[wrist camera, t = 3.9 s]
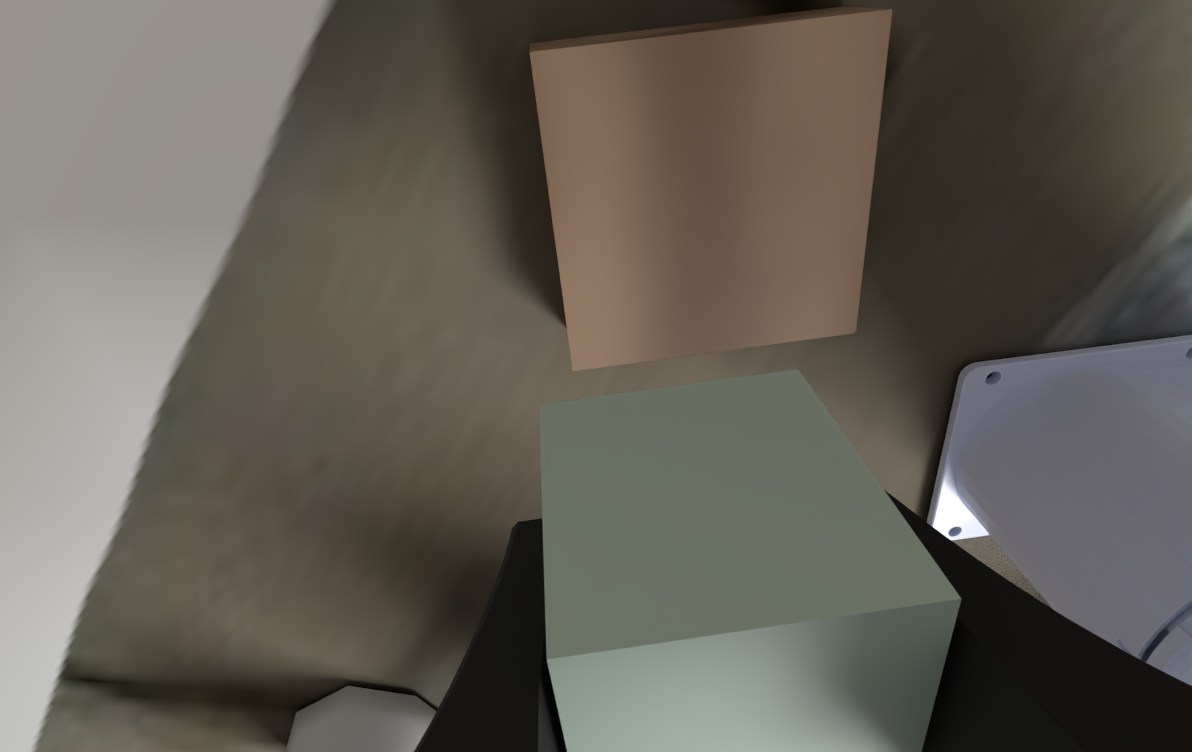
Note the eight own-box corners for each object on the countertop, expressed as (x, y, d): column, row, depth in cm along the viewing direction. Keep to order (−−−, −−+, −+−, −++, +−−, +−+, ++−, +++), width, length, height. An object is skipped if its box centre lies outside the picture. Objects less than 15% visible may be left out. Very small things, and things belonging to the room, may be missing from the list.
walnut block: (836, 5, 17) (892, 9, 15) (815, 291, 21) (855, 333, 19) (528, 42, 17) (529, 52, 14) (566, 324, 21) (572, 371, 18)
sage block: (797, 368, 11) (960, 598, 7) (786, 555, 14) (905, 814, 9) (539, 404, 11) (545, 660, 7) (571, 586, 14) (591, 862, 9)
